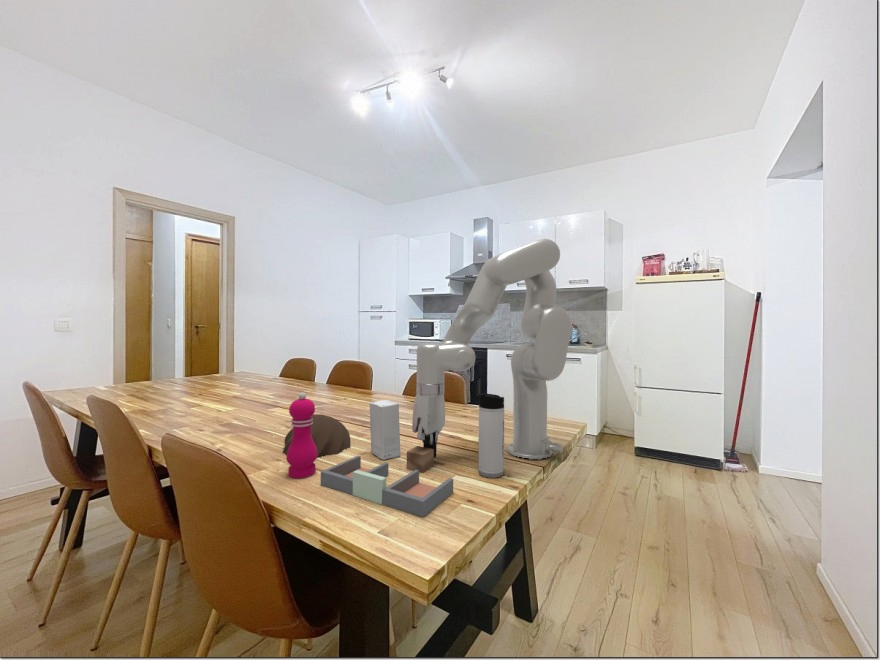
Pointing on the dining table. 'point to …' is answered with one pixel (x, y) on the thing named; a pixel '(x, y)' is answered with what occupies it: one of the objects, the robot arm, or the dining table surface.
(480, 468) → the travel mug
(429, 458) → the walnut block
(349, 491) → the bay rack
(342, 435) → the decorative dome
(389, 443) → the skincare box
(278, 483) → the dining table surface
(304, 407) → the pepper mill
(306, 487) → the dining table surface
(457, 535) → the dining table surface
